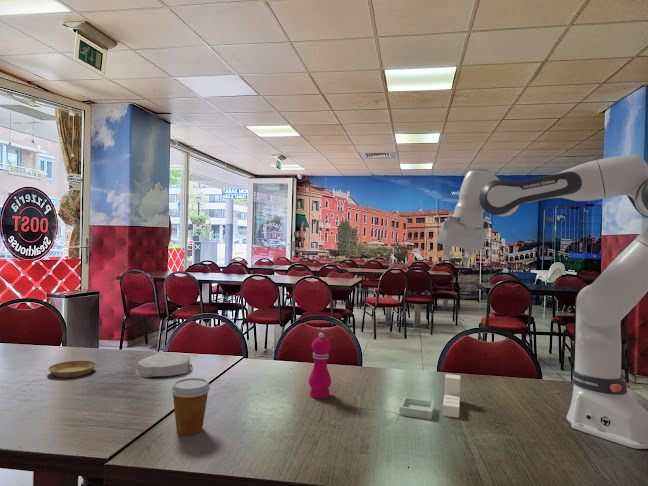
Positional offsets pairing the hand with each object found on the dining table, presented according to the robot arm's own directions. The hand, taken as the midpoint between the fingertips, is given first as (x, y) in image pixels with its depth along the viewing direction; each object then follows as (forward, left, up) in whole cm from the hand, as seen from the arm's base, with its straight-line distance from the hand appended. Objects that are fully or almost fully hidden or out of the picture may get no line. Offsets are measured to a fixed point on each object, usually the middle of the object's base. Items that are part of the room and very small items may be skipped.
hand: (455, 261), depth 142 cm
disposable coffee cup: (+8, +81, -44) cm, 93 cm away
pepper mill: (+18, +39, -44) cm, 62 cm away
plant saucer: (+72, +110, -44) cm, 139 cm away
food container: (+64, +80, -45) cm, 111 cm away
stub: (-3, +3, -44) cm, 44 cm away
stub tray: (-5, +18, -44) cm, 48 cm away
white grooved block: (-9, +8, -44) cm, 46 cm away
